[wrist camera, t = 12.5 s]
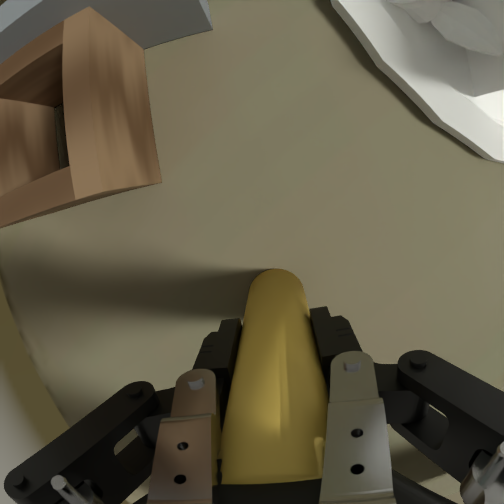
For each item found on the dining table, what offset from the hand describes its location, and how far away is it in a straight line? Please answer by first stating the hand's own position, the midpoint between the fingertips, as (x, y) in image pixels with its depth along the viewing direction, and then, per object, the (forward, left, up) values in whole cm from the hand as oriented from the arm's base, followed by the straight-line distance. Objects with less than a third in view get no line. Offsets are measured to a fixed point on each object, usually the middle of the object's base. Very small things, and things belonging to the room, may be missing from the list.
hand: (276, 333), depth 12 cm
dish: (+18, -18, -5) cm, 26 cm away
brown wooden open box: (+11, +9, -4) cm, 15 cm away
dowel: (0, 0, -4) cm, 4 cm away
